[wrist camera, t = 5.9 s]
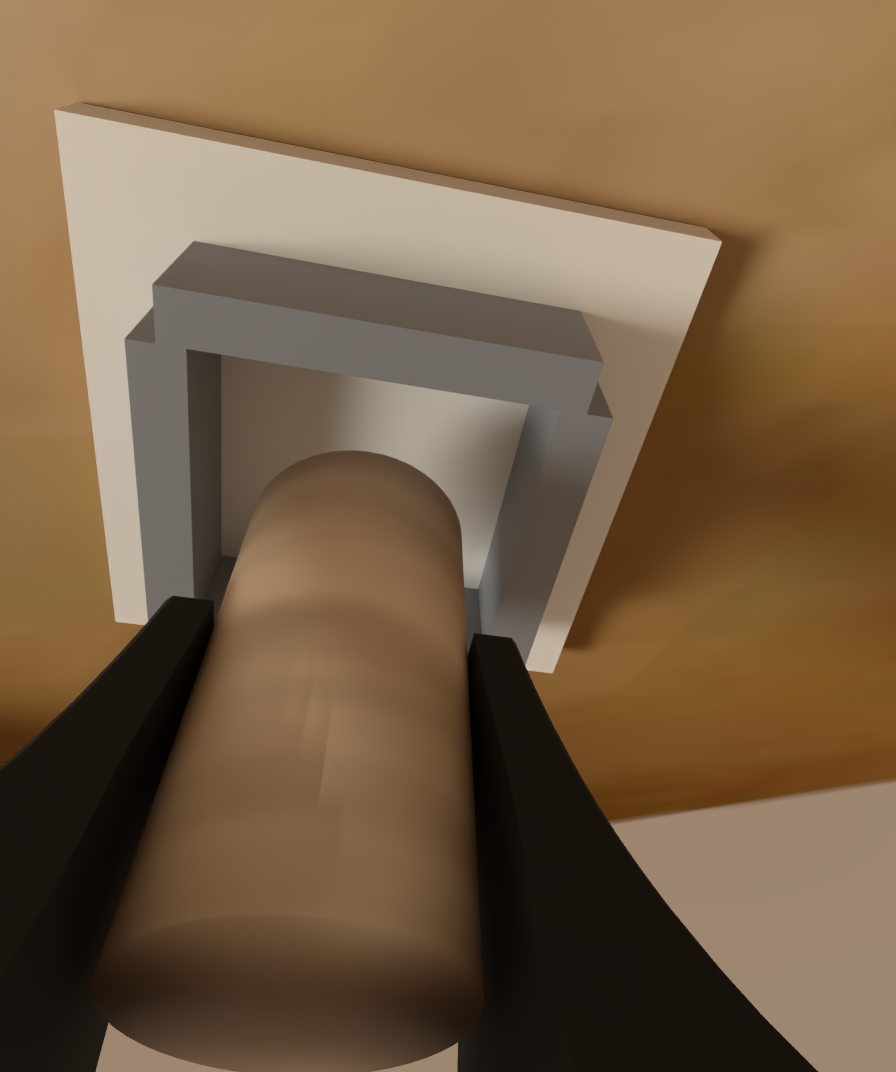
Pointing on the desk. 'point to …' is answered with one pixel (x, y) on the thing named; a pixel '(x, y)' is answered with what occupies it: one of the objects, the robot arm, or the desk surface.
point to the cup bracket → (361, 353)
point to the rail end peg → (315, 798)
